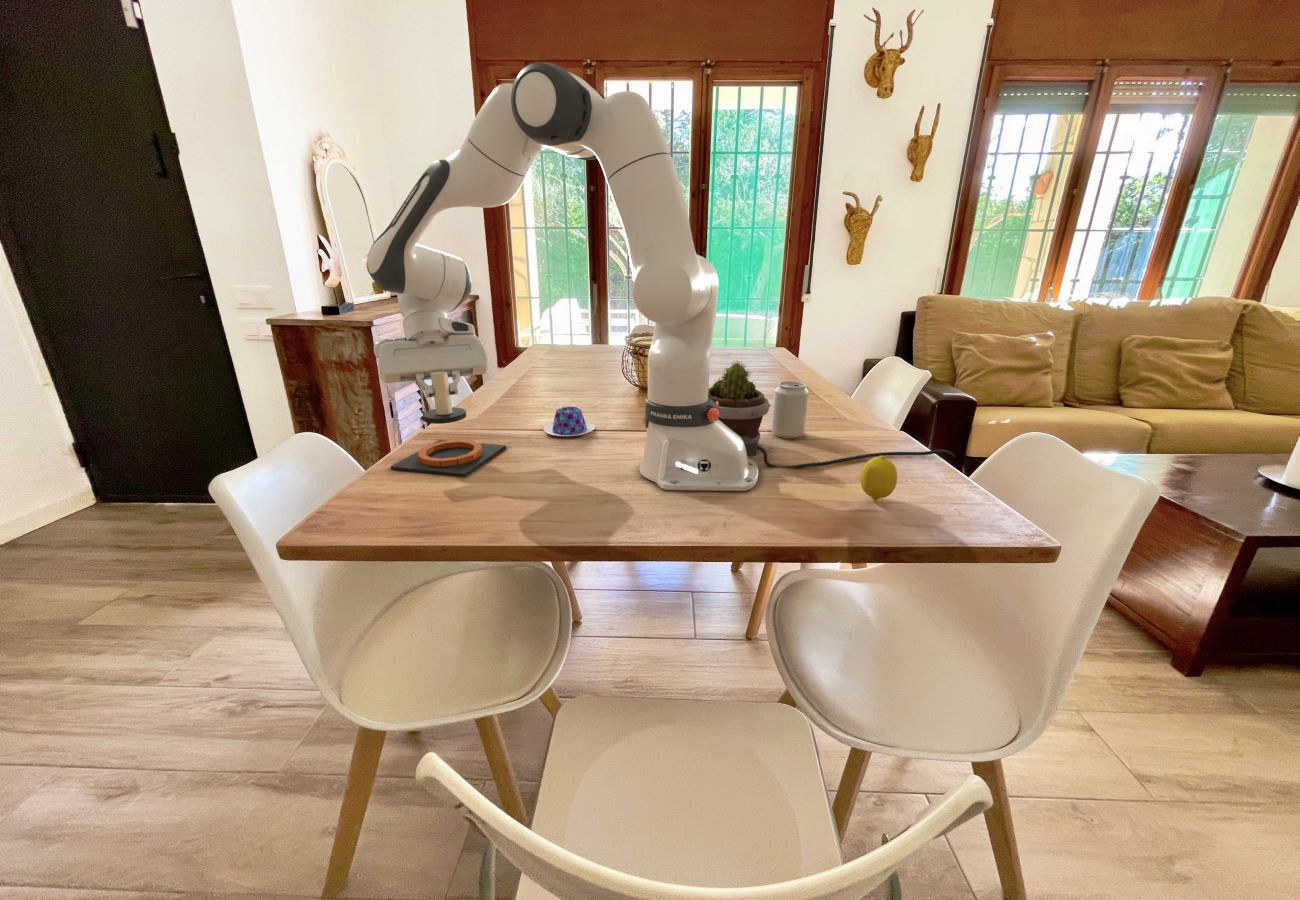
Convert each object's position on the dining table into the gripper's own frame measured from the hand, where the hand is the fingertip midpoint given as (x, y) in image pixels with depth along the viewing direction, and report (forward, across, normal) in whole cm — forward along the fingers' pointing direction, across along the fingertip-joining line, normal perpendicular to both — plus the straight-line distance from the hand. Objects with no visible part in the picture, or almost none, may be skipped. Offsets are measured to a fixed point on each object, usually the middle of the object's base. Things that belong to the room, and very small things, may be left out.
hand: (442, 394), depth 100 cm
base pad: (+9, 0, +10) cm, 14 cm away
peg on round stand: (+3, 0, +4) cm, 5 cm away
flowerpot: (+24, +55, -5) cm, 60 cm away
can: (+24, +71, -5) cm, 75 cm away
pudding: (+5, +27, +14) cm, 31 cm away
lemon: (+47, +60, -28) cm, 82 cm away
